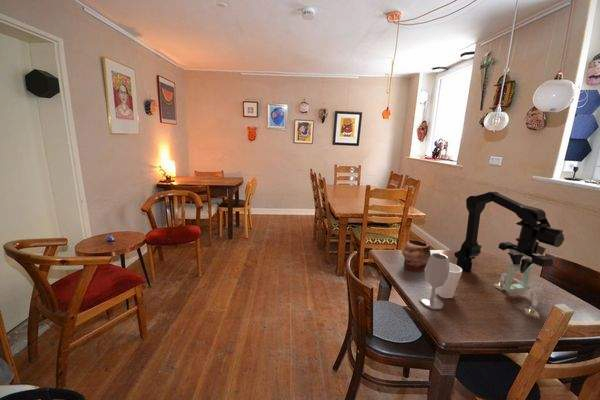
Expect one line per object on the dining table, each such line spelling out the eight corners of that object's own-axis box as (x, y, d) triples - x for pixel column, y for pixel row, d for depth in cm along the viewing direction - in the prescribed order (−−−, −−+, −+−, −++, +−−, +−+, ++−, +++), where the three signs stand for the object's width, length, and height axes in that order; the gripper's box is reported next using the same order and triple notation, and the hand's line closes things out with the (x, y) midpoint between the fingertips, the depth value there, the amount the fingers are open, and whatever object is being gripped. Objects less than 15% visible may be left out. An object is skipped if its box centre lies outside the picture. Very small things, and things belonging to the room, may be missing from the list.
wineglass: (433, 312, 102) (442, 262, 97) (414, 300, 109) (422, 253, 105) (447, 306, 106) (457, 258, 101) (428, 295, 113) (436, 250, 109)
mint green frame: (508, 292, 113) (515, 267, 111) (502, 288, 116) (508, 264, 114) (527, 290, 116) (533, 266, 113) (520, 286, 118) (526, 263, 116)
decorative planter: (415, 258, 150) (418, 235, 146) (436, 267, 140) (440, 242, 137) (394, 267, 138) (397, 242, 135) (415, 277, 128) (420, 250, 125)
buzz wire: (528, 318, 101) (540, 298, 99) (490, 284, 125) (499, 267, 123) (542, 322, 101) (554, 303, 99) (502, 287, 125) (511, 271, 122)
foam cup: (454, 291, 118) (459, 264, 115) (459, 302, 109) (464, 274, 106) (431, 286, 120) (435, 260, 118) (433, 297, 112) (438, 269, 109)
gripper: (568, 245, 103) (558, 281, 107) (520, 229, 121) (512, 261, 125) (546, 247, 101) (536, 283, 104) (501, 230, 119) (493, 262, 122)
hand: (519, 271), depth 114 cm, fingers closed on mint green frame, 2 cm apart
